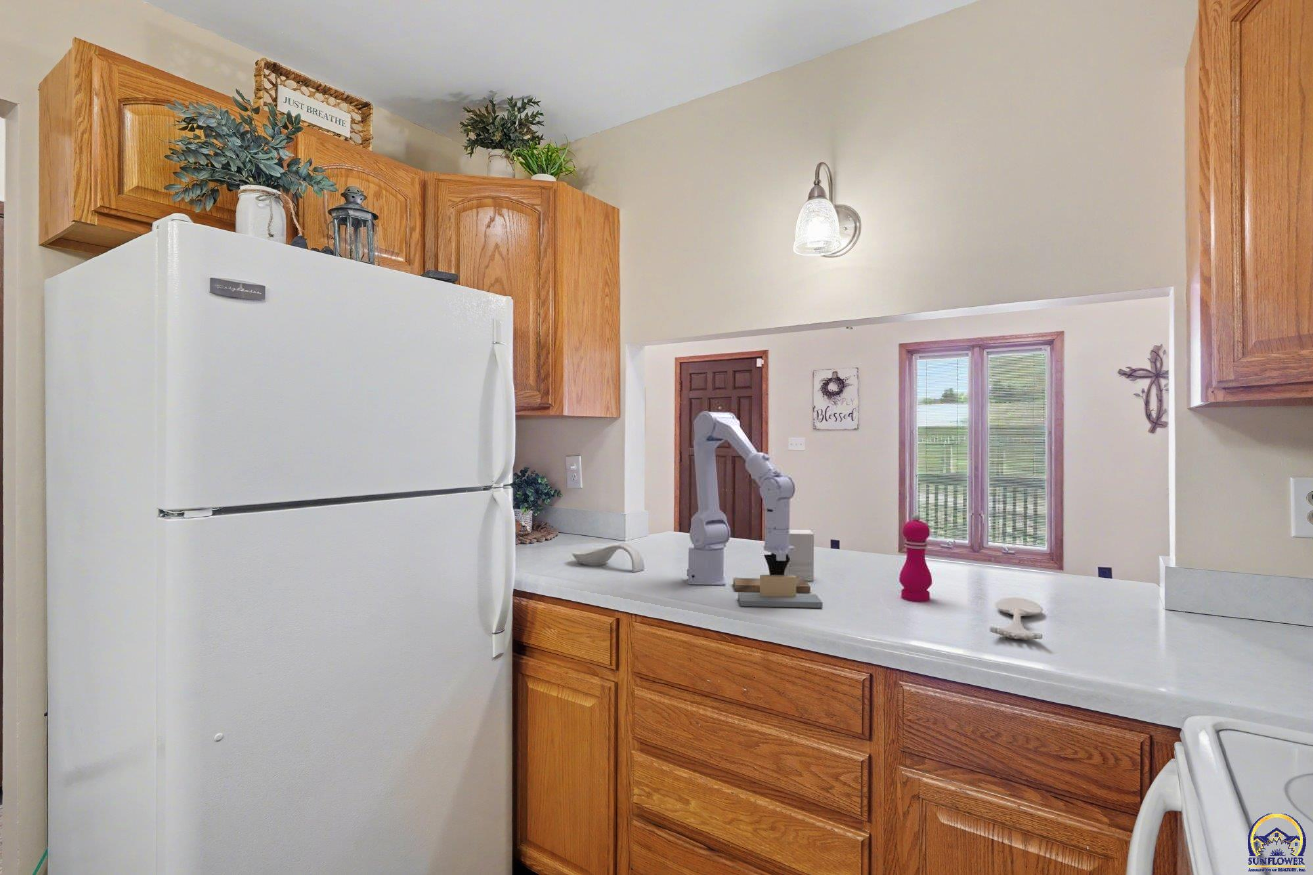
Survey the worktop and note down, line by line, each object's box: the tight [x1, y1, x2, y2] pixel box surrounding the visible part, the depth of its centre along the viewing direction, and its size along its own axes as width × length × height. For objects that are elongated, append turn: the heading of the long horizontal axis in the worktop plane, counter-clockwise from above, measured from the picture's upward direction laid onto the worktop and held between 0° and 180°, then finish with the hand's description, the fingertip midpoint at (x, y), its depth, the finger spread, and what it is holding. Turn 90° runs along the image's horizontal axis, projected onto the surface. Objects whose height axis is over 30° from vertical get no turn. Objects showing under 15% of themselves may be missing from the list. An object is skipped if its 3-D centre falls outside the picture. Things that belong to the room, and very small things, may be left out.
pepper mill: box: [898, 513, 933, 602], centre depth 154 cm, size 7×7×20 cm
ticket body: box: [732, 577, 811, 594], centre depth 163 cm, size 18×8×2 cm, turn 87°
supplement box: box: [784, 529, 815, 582], centre depth 175 cm, size 7×7×13 cm
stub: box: [737, 574, 824, 609], centre depth 148 cm, size 18×7×6 cm, turn 87°
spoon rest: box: [571, 543, 645, 573], centre depth 189 cm, size 24×12×7 cm, turn 54°
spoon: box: [989, 596, 1044, 640], centre depth 133 cm, size 9×32×4 cm, turn 150°
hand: (776, 585), depth 153 cm, fingers closed
